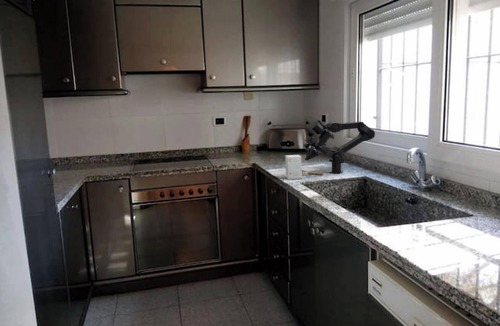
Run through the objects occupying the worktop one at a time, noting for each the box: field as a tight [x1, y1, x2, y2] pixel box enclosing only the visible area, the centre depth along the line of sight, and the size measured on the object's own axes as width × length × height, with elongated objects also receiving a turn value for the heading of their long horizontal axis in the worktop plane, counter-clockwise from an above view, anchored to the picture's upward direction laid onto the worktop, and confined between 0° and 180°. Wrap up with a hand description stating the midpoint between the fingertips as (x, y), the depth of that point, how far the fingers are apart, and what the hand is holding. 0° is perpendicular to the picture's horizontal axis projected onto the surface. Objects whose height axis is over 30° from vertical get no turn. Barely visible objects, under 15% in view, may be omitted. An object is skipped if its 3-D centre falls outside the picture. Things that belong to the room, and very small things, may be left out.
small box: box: [284, 154, 303, 180], centre depth 215 cm, size 8×6×13 cm
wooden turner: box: [302, 171, 324, 176], centre depth 223 cm, size 6×16×1 cm, turn 58°
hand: (305, 160), depth 217 cm, fingers closed
